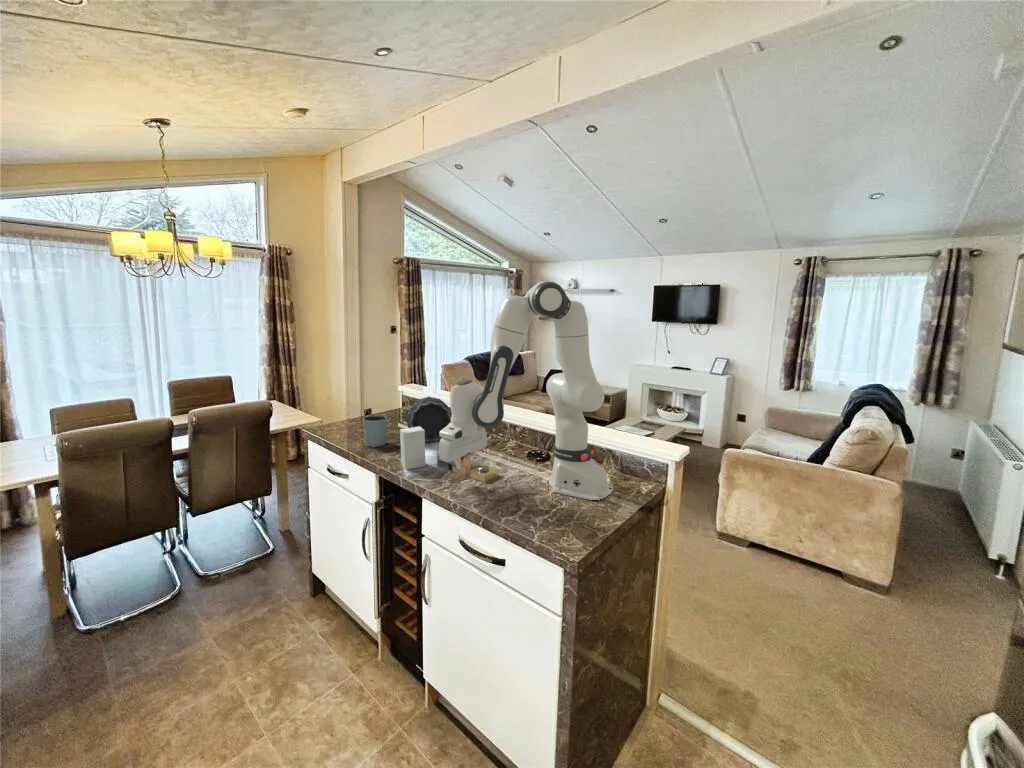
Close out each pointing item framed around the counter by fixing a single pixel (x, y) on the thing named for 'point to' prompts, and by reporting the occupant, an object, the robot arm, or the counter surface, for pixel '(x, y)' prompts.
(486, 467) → the chain joint
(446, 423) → the scalloped baking dish
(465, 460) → the pin
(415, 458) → the skincare box
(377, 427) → the teal plant pot
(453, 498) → the counter surface
